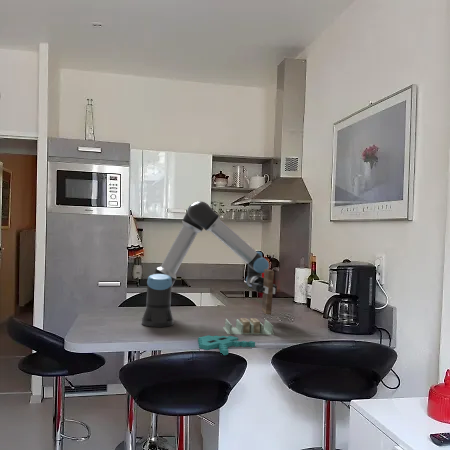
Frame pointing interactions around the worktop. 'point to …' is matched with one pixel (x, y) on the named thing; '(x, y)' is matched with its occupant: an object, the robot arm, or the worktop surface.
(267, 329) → the slot rack
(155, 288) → the robot arm
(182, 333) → the worktop surface
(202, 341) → the alien figure
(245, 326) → the pine offcut
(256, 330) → the pine offcut
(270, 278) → the walnut panel
